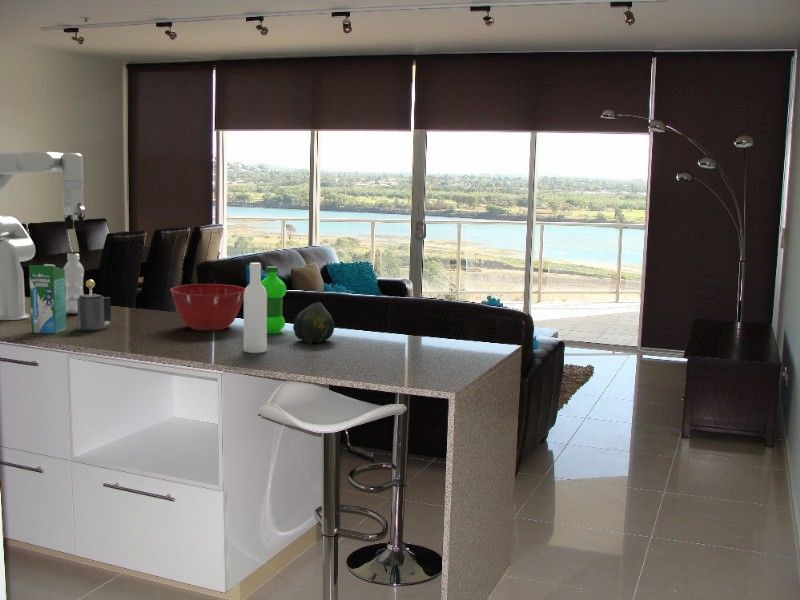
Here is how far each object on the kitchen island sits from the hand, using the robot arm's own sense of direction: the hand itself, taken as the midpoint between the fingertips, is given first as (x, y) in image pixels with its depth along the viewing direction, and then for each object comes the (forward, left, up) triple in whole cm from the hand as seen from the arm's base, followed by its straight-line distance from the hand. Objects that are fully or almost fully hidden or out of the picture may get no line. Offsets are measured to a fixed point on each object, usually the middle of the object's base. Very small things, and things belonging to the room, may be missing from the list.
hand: (74, 230), depth 338 cm
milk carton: (+12, -16, -36) cm, 42 cm away
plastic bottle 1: (-20, +8, -36) cm, 42 cm away
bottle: (+88, +23, -36) cm, 98 cm away
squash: (+87, +49, -37) cm, 106 cm away
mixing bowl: (+41, +34, -36) cm, 65 cm away
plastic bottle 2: (+63, +48, -36) cm, 87 cm away
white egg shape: (+9, +5, -36) cm, 38 cm away
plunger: (+17, -2, -34) cm, 38 cm away
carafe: (+17, -1, -36) cm, 40 cm away
